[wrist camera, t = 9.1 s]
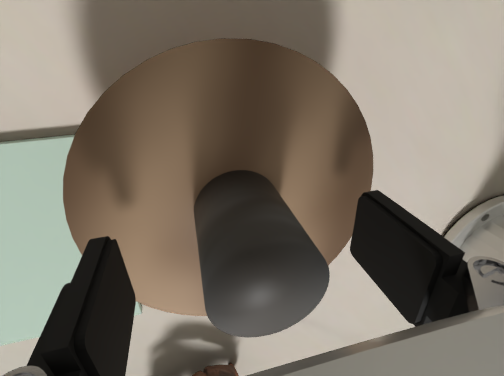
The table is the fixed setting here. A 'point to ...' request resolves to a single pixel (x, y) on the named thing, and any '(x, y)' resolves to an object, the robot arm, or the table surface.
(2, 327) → the mat
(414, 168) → the table surface
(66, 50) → the table surface
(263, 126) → the lid
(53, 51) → the table surface
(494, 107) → the table surface
